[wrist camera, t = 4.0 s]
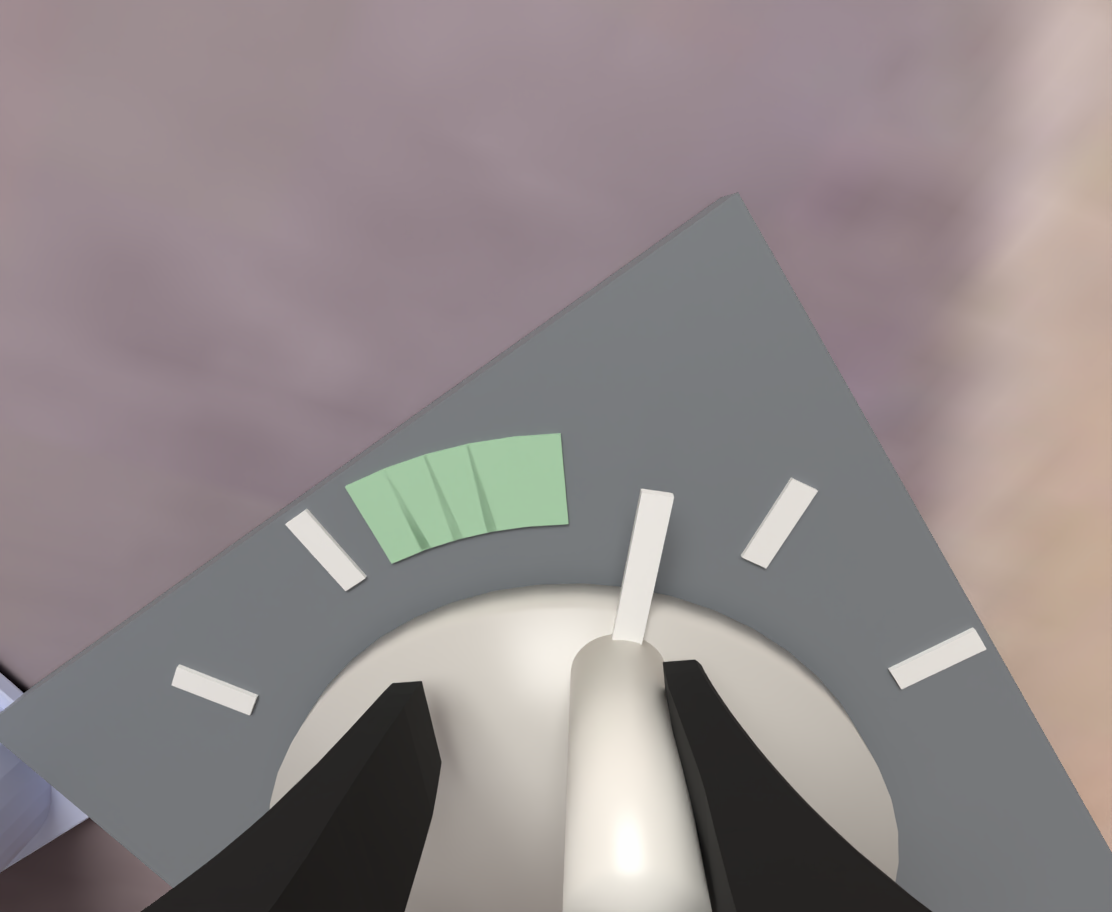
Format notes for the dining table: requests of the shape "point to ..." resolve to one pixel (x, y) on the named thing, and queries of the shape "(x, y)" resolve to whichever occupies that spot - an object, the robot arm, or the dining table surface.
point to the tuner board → (595, 580)
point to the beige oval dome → (591, 740)
